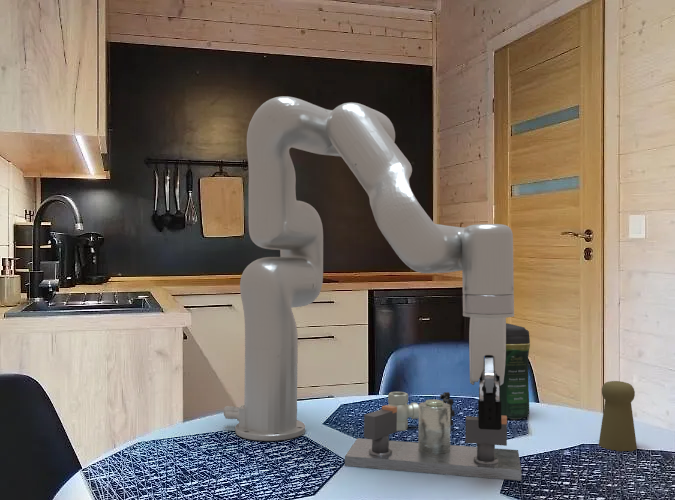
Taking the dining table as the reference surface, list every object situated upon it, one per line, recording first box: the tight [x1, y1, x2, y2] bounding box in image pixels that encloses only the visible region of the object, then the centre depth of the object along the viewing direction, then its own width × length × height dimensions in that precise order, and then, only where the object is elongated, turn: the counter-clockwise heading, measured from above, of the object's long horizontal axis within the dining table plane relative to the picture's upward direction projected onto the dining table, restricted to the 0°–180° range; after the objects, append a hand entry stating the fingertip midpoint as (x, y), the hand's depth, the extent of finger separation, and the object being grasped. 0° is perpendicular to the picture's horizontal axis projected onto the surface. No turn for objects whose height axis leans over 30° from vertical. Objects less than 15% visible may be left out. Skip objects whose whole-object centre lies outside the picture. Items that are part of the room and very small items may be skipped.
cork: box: [598, 380, 638, 452], centre depth 112 cm, size 6×6×11 cm
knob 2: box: [464, 415, 508, 462], centre depth 98 cm, size 6×3×6 cm, turn 77°
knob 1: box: [363, 404, 398, 453], centre depth 102 cm, size 6×3×6 cm, turn 142°
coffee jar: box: [493, 322, 531, 420], centre depth 133 cm, size 10×8×19 cm
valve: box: [387, 391, 456, 432], centre depth 123 cm, size 7×7×12 cm
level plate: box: [344, 398, 522, 482], centre depth 102 cm, size 26×10×9 cm, turn 77°
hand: (489, 420), depth 98 cm, fingers open, 9 cm apart
